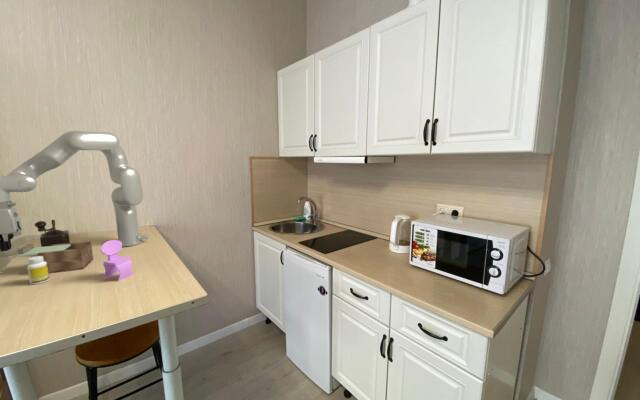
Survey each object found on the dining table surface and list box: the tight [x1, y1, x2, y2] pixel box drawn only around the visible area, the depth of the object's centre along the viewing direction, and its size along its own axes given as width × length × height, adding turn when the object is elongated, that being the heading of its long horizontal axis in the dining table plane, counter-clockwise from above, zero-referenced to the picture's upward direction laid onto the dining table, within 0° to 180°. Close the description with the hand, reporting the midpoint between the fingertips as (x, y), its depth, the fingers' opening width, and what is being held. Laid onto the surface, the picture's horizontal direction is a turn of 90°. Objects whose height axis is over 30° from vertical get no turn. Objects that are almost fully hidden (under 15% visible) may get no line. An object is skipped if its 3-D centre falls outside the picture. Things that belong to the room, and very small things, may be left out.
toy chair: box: [100, 239, 134, 282], centre depth 111 cm, size 8×9×15 cm
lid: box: [16, 243, 71, 258], centre depth 117 cm, size 14×9×3 cm, turn 113°
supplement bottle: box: [26, 255, 50, 285], centre depth 107 cm, size 5×5×10 cm
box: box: [36, 240, 94, 275], centre depth 121 cm, size 14×12×9 cm
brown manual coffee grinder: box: [34, 219, 71, 247], centre depth 136 cm, size 16×11×18 cm
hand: (5, 250), depth 113 cm, fingers closed
